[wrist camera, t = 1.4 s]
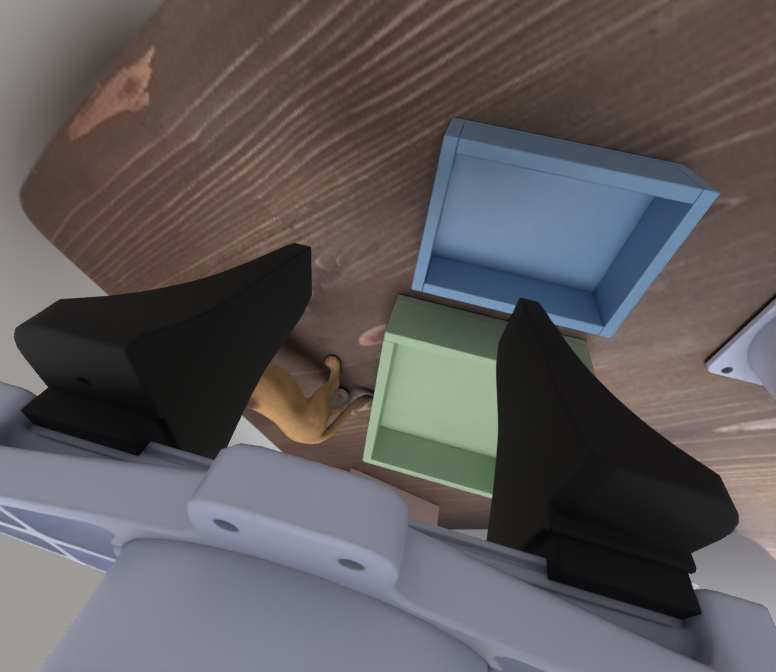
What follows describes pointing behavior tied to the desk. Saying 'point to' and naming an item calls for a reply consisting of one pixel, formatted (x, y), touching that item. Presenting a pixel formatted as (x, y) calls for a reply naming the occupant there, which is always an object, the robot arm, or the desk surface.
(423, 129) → the desk surface
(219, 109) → the desk surface
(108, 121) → the desk surface
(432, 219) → the blue bin
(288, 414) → the lion figurine
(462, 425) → the big bin
